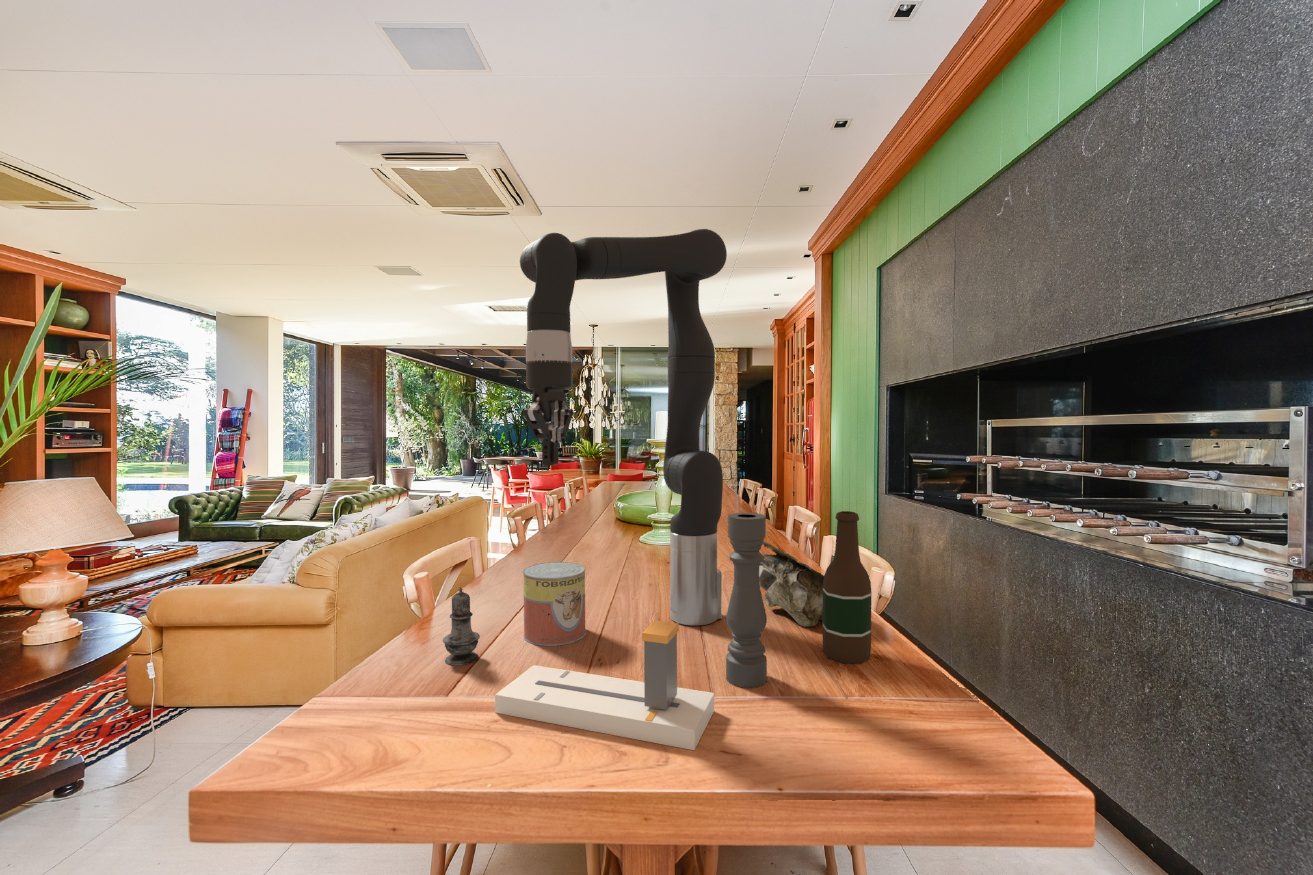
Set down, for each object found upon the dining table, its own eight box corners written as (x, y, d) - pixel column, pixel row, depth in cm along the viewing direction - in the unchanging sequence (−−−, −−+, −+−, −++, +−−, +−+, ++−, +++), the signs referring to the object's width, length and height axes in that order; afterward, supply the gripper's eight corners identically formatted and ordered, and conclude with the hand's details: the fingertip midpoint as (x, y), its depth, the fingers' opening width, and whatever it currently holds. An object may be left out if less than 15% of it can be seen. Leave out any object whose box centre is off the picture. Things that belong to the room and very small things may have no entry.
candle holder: (769, 672, 93) (770, 513, 92) (763, 690, 87) (764, 520, 86) (730, 667, 95) (730, 511, 94) (721, 684, 89) (721, 518, 88)
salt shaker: (469, 667, 96) (467, 593, 95) (435, 664, 97) (434, 591, 96) (486, 653, 101) (485, 583, 101) (455, 650, 103) (453, 581, 102)
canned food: (544, 651, 102) (543, 581, 102) (512, 633, 111) (511, 568, 110) (597, 635, 110) (597, 570, 109) (564, 619, 118) (563, 558, 118)
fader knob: (642, 706, 77) (642, 632, 76) (654, 690, 81) (654, 620, 81) (667, 710, 76) (667, 636, 75) (678, 693, 80) (678, 623, 80)
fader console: (495, 712, 81) (495, 693, 81) (533, 681, 91) (533, 664, 91) (694, 750, 72) (694, 729, 72) (714, 710, 81) (714, 692, 81)
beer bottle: (873, 650, 102) (874, 510, 101) (868, 668, 95) (869, 517, 94) (826, 643, 105) (826, 507, 104) (818, 659, 98) (819, 514, 97)
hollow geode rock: (766, 607, 139) (722, 563, 137) (804, 568, 140) (761, 523, 138) (816, 652, 111) (762, 596, 109) (862, 602, 112) (809, 546, 111)
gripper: (549, 356, 91) (550, 469, 92) (587, 362, 104) (588, 462, 104) (506, 357, 94) (508, 468, 94) (549, 364, 106) (550, 461, 107)
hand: (550, 465), depth 99 cm, fingers closed
